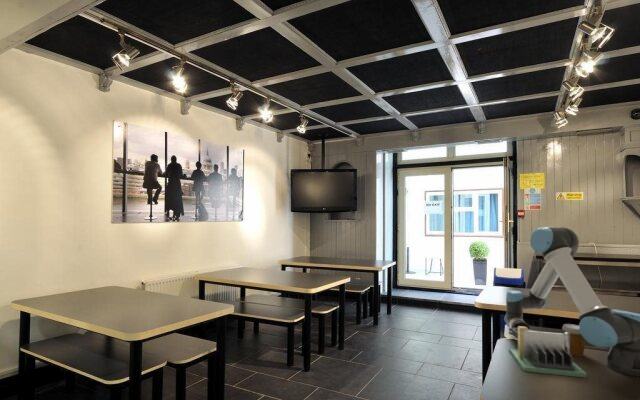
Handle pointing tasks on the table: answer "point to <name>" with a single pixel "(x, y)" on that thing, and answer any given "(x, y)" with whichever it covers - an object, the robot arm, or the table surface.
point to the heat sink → (547, 354)
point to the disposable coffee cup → (575, 339)
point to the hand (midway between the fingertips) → (534, 343)
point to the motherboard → (528, 366)
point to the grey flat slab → (542, 341)
